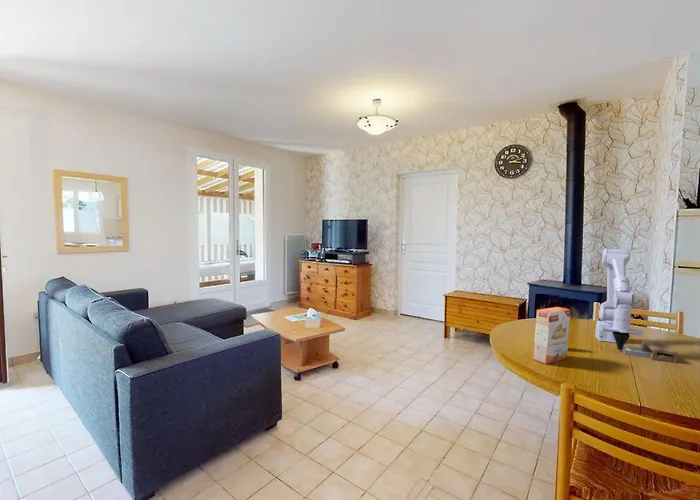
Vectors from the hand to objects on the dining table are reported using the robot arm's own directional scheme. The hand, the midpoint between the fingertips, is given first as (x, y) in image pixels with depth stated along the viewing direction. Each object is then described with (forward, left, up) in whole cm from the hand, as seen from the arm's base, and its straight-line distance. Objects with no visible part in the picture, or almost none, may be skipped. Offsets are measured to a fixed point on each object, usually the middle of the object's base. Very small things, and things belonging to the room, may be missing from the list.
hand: (619, 349), depth 151 cm
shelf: (+13, 0, -1) cm, 13 cm away
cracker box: (-29, -24, -1) cm, 38 cm away
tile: (+6, 0, -1) cm, 7 cm away
